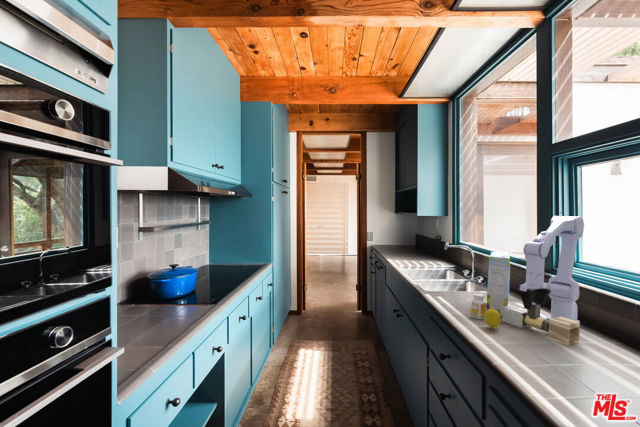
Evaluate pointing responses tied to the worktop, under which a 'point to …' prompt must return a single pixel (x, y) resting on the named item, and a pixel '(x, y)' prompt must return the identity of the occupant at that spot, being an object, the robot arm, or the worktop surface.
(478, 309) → the supplement bottle
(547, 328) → the tube
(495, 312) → the lemon
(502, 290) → the snack box
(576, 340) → the socket block
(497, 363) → the worktop surface
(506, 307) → the sleeve
